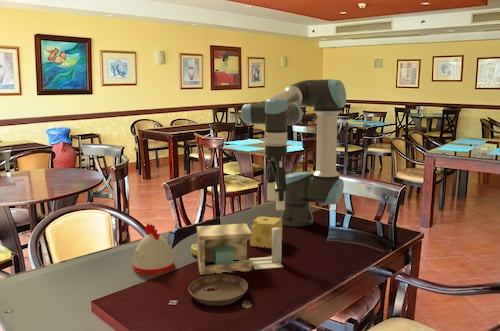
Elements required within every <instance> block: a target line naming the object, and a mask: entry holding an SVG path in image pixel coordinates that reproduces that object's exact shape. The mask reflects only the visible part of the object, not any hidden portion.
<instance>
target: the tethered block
mask: <svg viewBox="0 0 500 331" xmlns="http://www.w3.org/2000/svg"><path fill="white" fill-rule="evenodd" d="M282 240H283V228H282V229H281V228H278V227H275V228H272V249H271V257H272V258H267V259H254V260H250V259H247V260H239V261H233V249H232V247H231V246H216V247H214V262H213V263H214V264H213V265H217V264H230V263H243V262H258V261H271V260H272V262H273V263H282V242H283V241H282Z"/></svg>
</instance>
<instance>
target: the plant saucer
mask: <svg viewBox="0 0 500 331" xmlns="http://www.w3.org/2000/svg"><path fill="white" fill-rule="evenodd" d="M208 288H209V289H210V288H214V289H216V288H217V290H215V291H209V292H208V291H206V290H207V289H208ZM248 288H249V284H248V282H247V281H246V280H245V279H244V278H241V277H240V276H236V275H232V274H225V273H217V274H209V275H206V276H202V277H200V278H198V279H196V280H194V281H192V282H191V283H190V284H189V286H188V292H189V294H190V295H191V296H192V298H194V300H195V301H197V302H199V303H200V304H202V305H207V306H214V307H215V306H216V307H218V306H226V305H231V304H233V303H235V302H237V301H238V300H239V301H240V299H241V298H242V297H243V296H244V295H245V294H246V292H247V290H248ZM204 289H205V291H204Z"/></svg>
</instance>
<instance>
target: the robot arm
mask: <svg viewBox="0 0 500 331" xmlns="http://www.w3.org/2000/svg"><path fill="white" fill-rule="evenodd" d="M346 103H347V91H346V86H345V85H344V83H343V81H341V80H339V79H334V78H333V79H332V78H331V79H307V80H305V79H304V80H301V81H299V82H295V83H293V84H291V85H290V84H289V85H287V86H286V87H284V89H283V90H282V91H281V92H278V93H276V94H274V95H272V96H270V97H267V98H265V99H263V100H261V101H258V102H256V103H253V102H252V103H244V105H243V106H242V107H241V110H240V118H241V120H242V122H243V123H244V124H249V125H264V127H265V128H264V130H265V133H264V135H263V138H264V140H265V144H266V145H265V146H264V156H266V157H267V167H266V168H267V169H266V176H265V179H266V181H267V191H266V192H267V199H266V200H267V201H268V202H271V201H272V202H274V201H276V202H275V206H276V207H275V208H276V211H281V214H280V217H279V218H282V225H284V226H288V227H295V228H296V227H297V228H298V227H300V228H301V227H308V226H310V225H312V224H313V223H314V216H313V213H312V211H311V207H310V203H316V204H325V205H327V206H328V205H337V204H339V202H340V201H341V198H342V195H343V194H344V193H343V192H344V188H345V184H344V180H343V179H342V178H340V173H339V172H338V170H337V145H338V143H337V140H338V116H339V114H340V113H342V108H345V106H346ZM301 107H309V108H313V112H314V114H315V115H316V156H315V157H316V164H315V165H316V166H315V167H316V168H315V170H314V171H313V172H312V175H311V173H310V172H309V171H297V172H291V173H287V174H286V170H285V169H286V168H285V161H284V160H282V158H284V157H286V156H287V155H288V145H287V144H288V126H294V125H296V124H299V123H300V122H301V121H302V119H303V114H304V113H303V110H302V108H301Z"/></svg>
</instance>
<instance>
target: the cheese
mask: <svg viewBox="0 0 500 331" xmlns="http://www.w3.org/2000/svg"><path fill="white" fill-rule="evenodd" d="M275 227H278V228H281V229H282V230H283V224H282V218H280V217H274V216H273V217H270V216H262V215H259V216H258V217H256V218H255V219H254V220H253V225H252V226H251V228H250V231H251V232H252V237H249V245H250V247H256V246H257V248H264V247H265V248H264V249H270V248H271V250H272V228H275Z"/></svg>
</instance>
